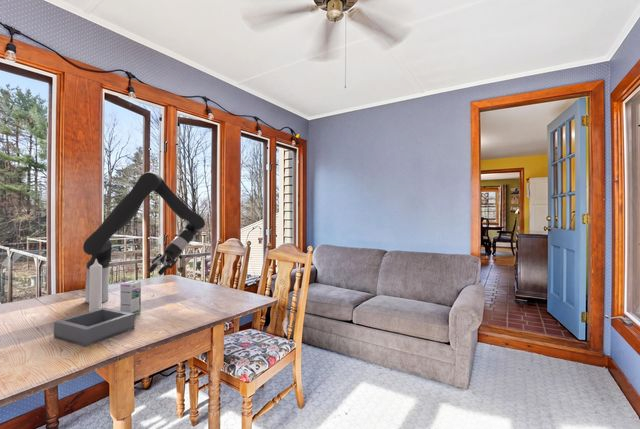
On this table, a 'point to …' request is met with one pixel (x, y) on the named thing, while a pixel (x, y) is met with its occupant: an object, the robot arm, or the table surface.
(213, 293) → the table surface
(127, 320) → the box
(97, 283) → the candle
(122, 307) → the syrup box
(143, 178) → the robot arm
